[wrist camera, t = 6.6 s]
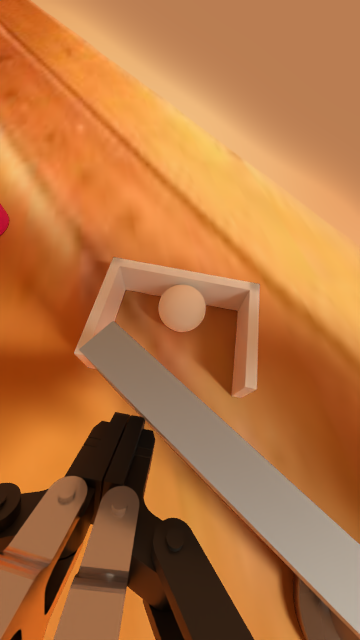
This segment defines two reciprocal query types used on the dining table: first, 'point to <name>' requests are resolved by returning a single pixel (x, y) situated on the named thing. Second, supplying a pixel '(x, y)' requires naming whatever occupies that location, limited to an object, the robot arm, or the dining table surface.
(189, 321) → the ball
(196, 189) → the dining table surface
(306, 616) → the lever base
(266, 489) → the paddle
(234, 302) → the pocket
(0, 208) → the pepper mill
